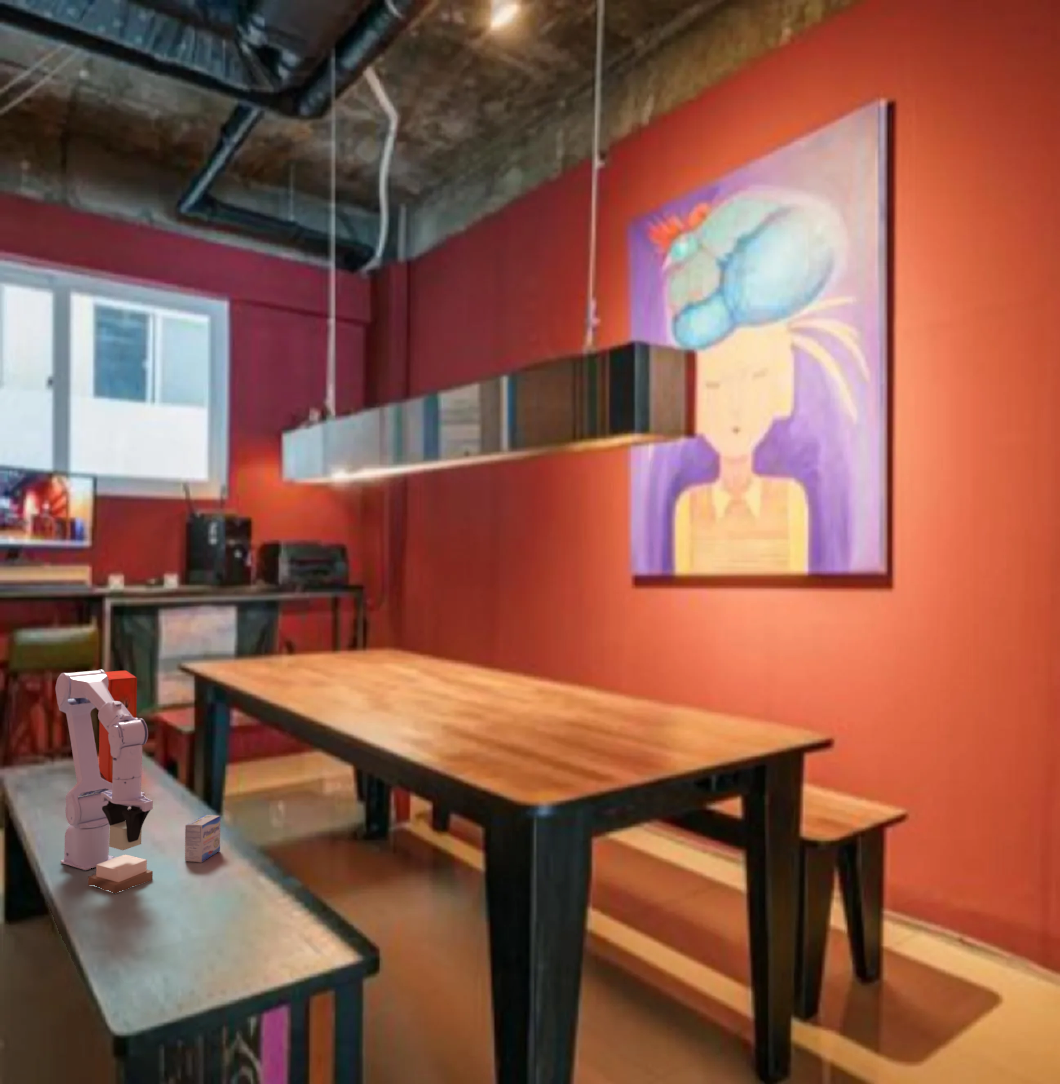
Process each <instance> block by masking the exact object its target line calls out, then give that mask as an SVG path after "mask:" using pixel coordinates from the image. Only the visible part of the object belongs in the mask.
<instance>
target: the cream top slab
mask: <svg viewBox="0 0 1060 1084" xmlns="http://www.w3.org/2000/svg"><path fill="white" fill-rule="evenodd" d="M115 857H116V858H113V859H111V860H108V861H105V862H103V863H100V864H97V865H96V867H95V869H96V872H95V874H96V876H97V877H101V878H104V879H108V880H112V881H115V882H121V881H123V880H126V879H128V878H131V877H133V876H136V875H138V874H141V873H143V872H146V871H147V870H148V868H147V867H148V865H147V864H148V863H147V862H148V860H147V859H145V858H141V857H136V856H133V855H129V854H122V855H119V856H115Z"/></svg>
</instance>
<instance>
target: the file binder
mask: <svg viewBox="0 0 1060 1084" xmlns="http://www.w3.org/2000/svg"><path fill="white" fill-rule="evenodd" d="M104 672H105V673H106V674H107V676H108V691H109V692H110V694H111V696H112V698H113V699H114V701H120V702H121V703H123V705H124V706H125V707H126V708H127V710H128V711H129V712H130V714H131V715H132V716H133V717H134V718H137V704H138V703H137V698H138V697H137V696H138V695H137V692H138V691H137V689H138V686H137V685H138V678H137V676H135V675H134V674H132V673H131V672H129V671H127V670H115V671H104ZM98 733H99V734H98V735H99V737H98V739H99V740H98V743H99V745H98V746H99V747H98V750H99V751H98V764H99V770H100V775H102V776H103V779H104V780H106V781H108V782H110V783H112V779H113V756H111V753H110V751H111V748H110V744H109V739H108V734H109V733H108V731H107V730H106V729H105V727H104V726H103V724H102V723H101V722H100V721H99V732H98Z"/></svg>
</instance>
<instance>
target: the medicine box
mask: <svg viewBox="0 0 1060 1084" xmlns="http://www.w3.org/2000/svg"><path fill="white" fill-rule="evenodd" d="M221 818H222V817H221V815H215V814H205V815H202V816H200V817H198V818H197V819H194V820H193V821H191V822H188V823H187V824H185V828H184V830H185V831H184V835H185V836H184V842H185V843H184V861H185V862H189V863H191V862H192V863H203V862H205V861H206V859H207V860H208V859H210V858H211V857H213V856H214V855H216V854H218V853H219V852H220V851H221ZM217 852H218V853H217ZM212 855H213V856H212ZM209 857H210V858H209ZM204 860H205V861H204Z"/></svg>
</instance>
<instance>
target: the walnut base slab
mask: <svg viewBox="0 0 1060 1084" xmlns="http://www.w3.org/2000/svg"><path fill="white" fill-rule="evenodd" d="M153 872H154V871H153V870H150V869H147V871H146V872H143V873H141V874H138V875H136V876H133V877H131V878H128V879H126V880H123V881H121V882H115V881H112V880H108V879H104V878H101V877H97V876H96V873H95V874H92V875H90V876H88V878H87V879H88V880H87V884H88V885H95V886H97V887H100V888H102V889H104V890H109V891H111V892H113V893H117V892H119V891H122V890H125V891H127V890H129V889H128V888H130V887H132V886H135V885H138V886H140V885H143V884H145V883H148V882H150V881H153ZM147 881H148V882H147ZM144 882H145V883H144ZM142 883H143V884H142ZM139 884H140V885H139ZM135 887H136V886H135ZM132 888H133V887H132ZM126 889H127V890H126ZM130 889H131V888H130ZM104 890H103V891H104ZM122 892H123V891H122ZM113 893H112V894H113ZM119 893H120V892H119ZM117 894H118V893H117Z"/></svg>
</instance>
